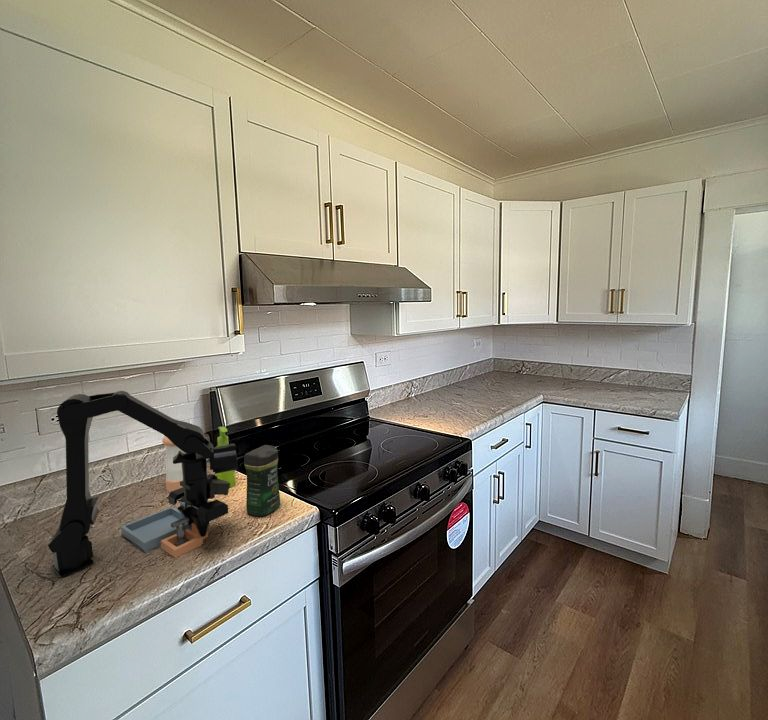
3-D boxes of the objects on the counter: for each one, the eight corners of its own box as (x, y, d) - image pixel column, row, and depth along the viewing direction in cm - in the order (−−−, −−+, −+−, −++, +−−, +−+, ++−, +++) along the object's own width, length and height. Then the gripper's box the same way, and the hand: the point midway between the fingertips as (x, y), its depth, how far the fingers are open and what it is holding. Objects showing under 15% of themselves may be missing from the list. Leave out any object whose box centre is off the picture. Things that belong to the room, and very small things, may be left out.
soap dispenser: (219, 491, 136) (214, 431, 133) (215, 484, 141) (210, 426, 139) (238, 487, 139) (234, 428, 136) (233, 480, 144) (229, 423, 142)
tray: (145, 552, 102) (144, 543, 102) (121, 535, 110) (120, 526, 110) (197, 528, 113) (196, 520, 113) (172, 514, 121) (171, 506, 121)
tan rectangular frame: (175, 558, 100) (173, 542, 100) (161, 548, 104) (159, 533, 104) (212, 539, 108) (211, 525, 107) (197, 531, 112) (196, 517, 111)
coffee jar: (264, 519, 117) (260, 455, 115) (242, 514, 120) (238, 452, 118) (285, 504, 126) (282, 444, 124) (264, 500, 129) (260, 441, 127)
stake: (176, 551, 103) (173, 525, 102) (172, 548, 104) (169, 522, 103) (192, 544, 106) (189, 518, 105) (187, 541, 107) (185, 516, 106)
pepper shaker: (181, 481, 144) (176, 427, 142) (195, 485, 141) (190, 429, 138) (161, 489, 138) (156, 433, 135) (175, 494, 134) (170, 436, 132)
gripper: (244, 474, 107) (248, 531, 109) (205, 459, 118) (209, 511, 120) (203, 489, 98) (208, 552, 100) (164, 472, 110) (170, 528, 112)
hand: (199, 534), depth 108 cm, fingers closed on tan rectangular frame, 3 cm apart
